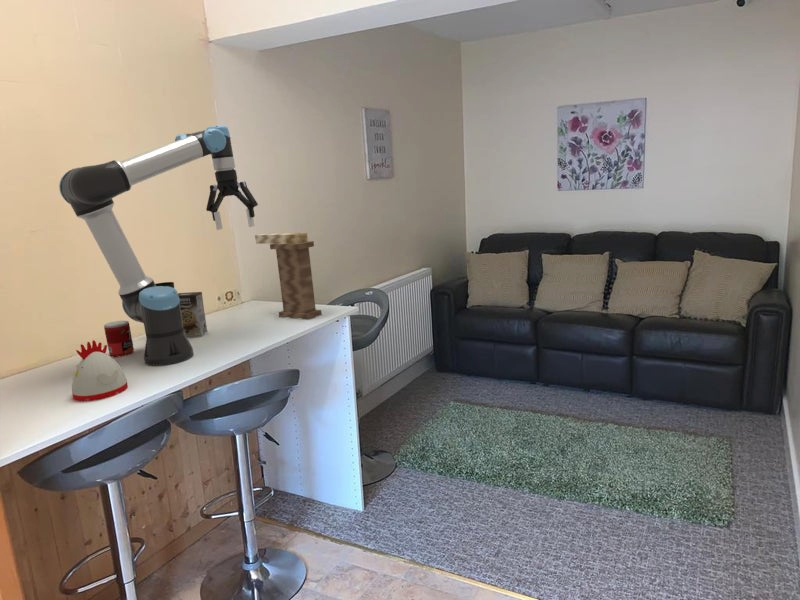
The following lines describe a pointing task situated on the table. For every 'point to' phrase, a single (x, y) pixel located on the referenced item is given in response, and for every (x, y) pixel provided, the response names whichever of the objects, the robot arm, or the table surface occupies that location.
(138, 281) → the robot arm
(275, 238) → the handle
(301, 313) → the pedestal
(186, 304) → the coffee box
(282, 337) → the table surface
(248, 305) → the table surface
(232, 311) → the table surface
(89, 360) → the kitchen timer
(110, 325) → the canned food
